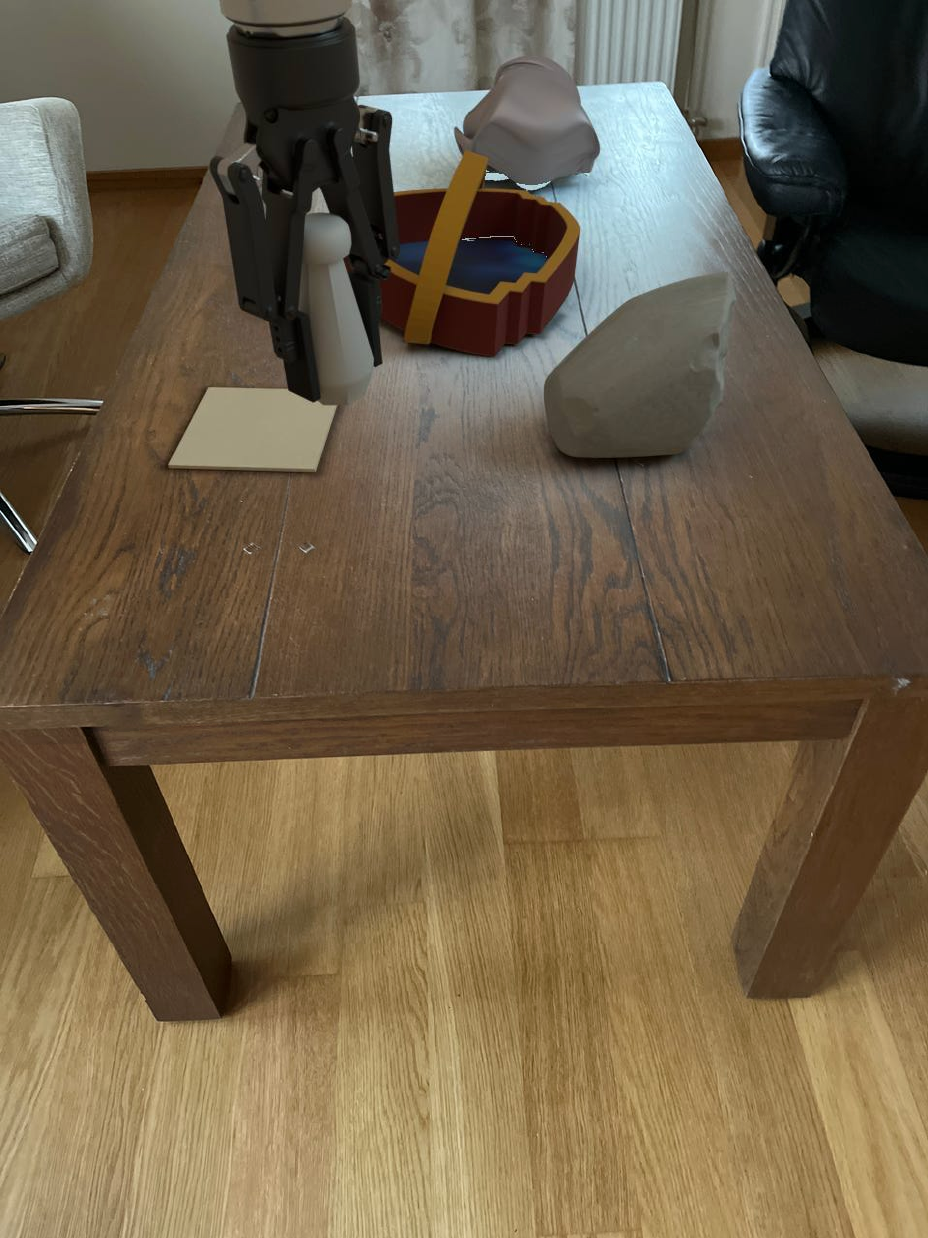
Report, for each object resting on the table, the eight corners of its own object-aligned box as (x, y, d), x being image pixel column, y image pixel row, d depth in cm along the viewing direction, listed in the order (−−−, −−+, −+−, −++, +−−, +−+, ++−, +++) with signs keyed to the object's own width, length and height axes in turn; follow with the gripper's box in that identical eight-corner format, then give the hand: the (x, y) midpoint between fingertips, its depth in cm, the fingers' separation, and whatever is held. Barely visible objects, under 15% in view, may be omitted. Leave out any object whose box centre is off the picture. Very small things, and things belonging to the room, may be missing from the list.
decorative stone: (531, 415, 94) (536, 268, 84) (696, 395, 96) (721, 249, 86) (563, 486, 86) (572, 332, 75) (743, 462, 88) (777, 309, 77)
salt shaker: (372, 412, 70) (354, 237, 61) (295, 413, 70) (265, 237, 61) (379, 372, 74) (363, 202, 65) (306, 372, 74) (281, 203, 65)
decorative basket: (542, 389, 102) (571, 254, 91) (284, 329, 104) (283, 189, 93) (583, 261, 126) (610, 142, 115) (373, 214, 128) (380, 93, 117)
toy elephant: (458, 213, 135) (464, 107, 123) (449, 146, 145) (453, 42, 133) (596, 212, 137) (615, 109, 125) (577, 146, 147) (593, 44, 135)
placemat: (315, 472, 88) (315, 468, 88) (168, 468, 89) (167, 464, 89) (341, 393, 98) (341, 389, 98) (209, 390, 99) (208, 386, 99)
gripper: (201, 67, 48) (275, 450, 64) (444, -3, 58) (455, 343, 74) (115, 44, 52) (205, 413, 68) (358, -18, 62) (386, 316, 78)
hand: (336, 376), depth 71 cm, fingers closed on salt shaker, 6 cm apart
